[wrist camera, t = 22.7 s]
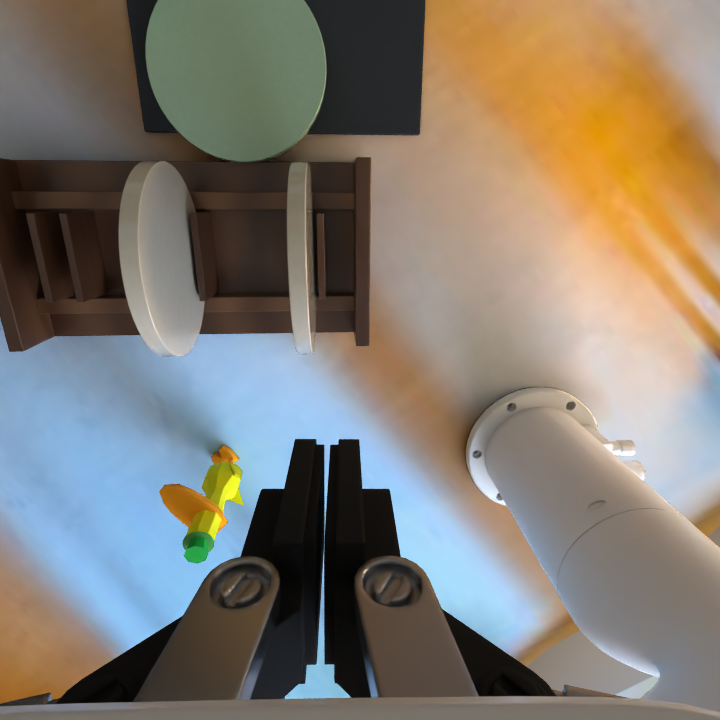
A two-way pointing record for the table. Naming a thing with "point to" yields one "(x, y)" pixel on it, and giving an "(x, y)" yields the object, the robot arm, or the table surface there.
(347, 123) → the mat
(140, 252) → the cream plate
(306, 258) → the cream plate
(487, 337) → the table surface
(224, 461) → the toy figure
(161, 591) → the table surface
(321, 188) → the plate rack
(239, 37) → the green plate
